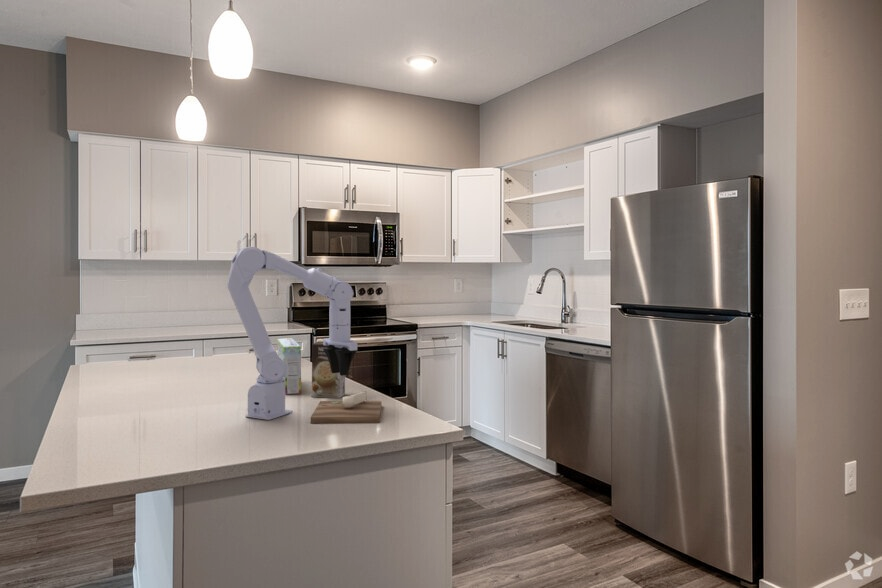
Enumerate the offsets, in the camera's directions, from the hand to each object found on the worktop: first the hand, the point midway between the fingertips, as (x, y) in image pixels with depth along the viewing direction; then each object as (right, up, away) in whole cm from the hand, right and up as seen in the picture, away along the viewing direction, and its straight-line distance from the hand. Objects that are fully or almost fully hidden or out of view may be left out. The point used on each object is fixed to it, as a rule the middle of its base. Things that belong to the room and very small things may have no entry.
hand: (339, 374), depth 162 cm
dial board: (+3, -10, -7) cm, 12 cm away
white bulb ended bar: (+5, -7, -4) cm, 10 cm away
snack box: (-21, -9, +27) cm, 35 cm away
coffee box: (-6, -9, +16) cm, 19 cm away
